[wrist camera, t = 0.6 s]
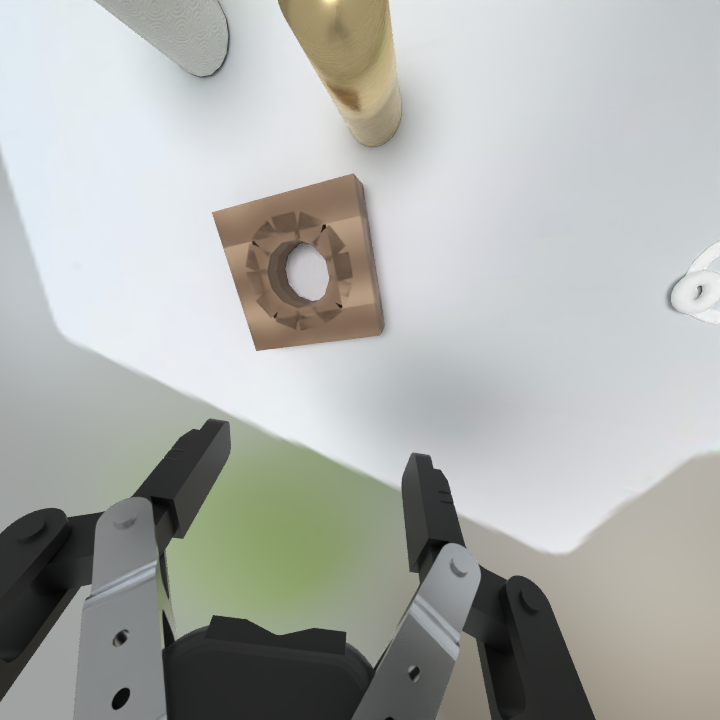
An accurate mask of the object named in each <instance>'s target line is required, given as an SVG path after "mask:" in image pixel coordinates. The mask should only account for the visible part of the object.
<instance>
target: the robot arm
mask: <svg viewBox="0 0 720 720" xmlns="http://www.w3.org/2000/svg"><path fill="white" fill-rule="evenodd" d="M230 449H231V441H230V425H229V422H227V421H222V420H216V419H208V420H207V421H206V423H205V424H204V425H203V427H202V428H201V429H200V430H196V429H192V430H191V431H189V432H188V433H186V434H185V435H183V436H182V437H180V438H179V440H178V441H177V442H176V443H175V445H174V446H173V447H172V449H171V450H170V451H169V452H168V453H167V454H166V455H165V457H164V459H162V461H161V462H160V463H159V464H158V466H157V467H156V468H155V469H154V470H153V471H152V473H151V474H150V475H149V476H148V478H147V479H146V480H145V481H144V482H143V484H142V485H141V486H140V487H139V489H138V490H137V491H136V492H135V493H134V494H133V496H131V497H130V498H127V499H124V500H122V501H119V502H117V503H116V504H114V505H112V506H111V507H110V508H108V509H107V510H106V511H104V512H100V513H94V514H87V515H80V516H74V517H67V516H66V514H65V513H64V512H63V511H62V510H60V509H57V508H47V509H42V510H38V511H34V512H32V513H29V514H27V515H25V516H23V517H22V518H20V519H18V520H16V521H15V522H14V523H12V524H11V525H10V526H8V527H7V528H6V529H5V530H4V531H3V532H2V533H1V534H0V701H1V700H2V699H3V697H4V696H5V694H6V693H7V691H8V690H9V689H10V687H11V686H12V684H13V683H14V681H15V680H16V679H17V677H18V676H19V674H20V673H21V671H22V670H23V668H24V667H25V666H26V664H27V663H28V661H29V660H30V659H31V657H32V656H33V654H34V653H35V651H36V650H37V649H38V647H39V646H40V644H41V643H42V641H43V640H44V639H45V637H46V636H47V634H48V633H49V631H50V630H51V629H52V627H53V626H54V624H55V623H56V621H57V620H58V619H59V617H60V616H61V614H62V613H63V611H64V610H65V609H66V607H67V606H68V604H69V603H70V601H71V600H72V599H73V597H74V596H75V594H76V593H77V591H78V590H79V589H80V587H81V586H85V585H89V584H92V589H91V595H90V597H88V598H86V600H85V602H84V605H83V610H82V620H81V632H80V645H79V656H78V669H77V680H76V692H75V704H74V717H73V720H435V719H436V716H437V713H438V710H439V707H440V705H441V701H442V699H443V696H444V693H445V690H446V688H447V685H448V682H449V679H450V676H451V674H452V671H453V668H454V665H455V662H456V659H457V656H458V652H459V644H458V641H459V638H460V635H461V632H462V631H464V632H466V633H467V634H469V635H471V636H473V637H474V638H476V641H477V646H478V651H479V657H480V662H481V667H482V672H483V677H484V682H485V688H486V693H487V697H488V703H489V709H490V714H491V719H492V720H596V719H595V717H594V714H593V712H592V709H591V707H590V704H589V702H588V699H587V697H586V694H585V692H584V689H583V687H582V684H581V681H580V679H579V676H578V674H577V671H576V669H575V666H574V664H573V661H572V659H571V656H570V654H569V651H568V649H567V646H566V643H565V641H564V638H563V636H562V634H561V631H560V628H559V626H558V623H557V621H556V618H555V616H554V613H553V611H552V608H551V605H550V603H549V601H548V599H547V598H546V596H545V595H544V593H543V592H542V591H541V589H540V588H539V587H538V586H537V585H536V584H535V583H533V582H532V581H531V580H529V579H527V578H525V577H523V576H513V577H511V578H510V579H509V580H506V579H504V578H502V577H500V576H498V575H496V574H494V573H492V572H490V571H488V570H486V569H485V568H483V567H482V566H480V565H479V564H478V563H477V561H476V559H475V557H474V556H473V555H472V554H471V553H470V551H468V550H467V548H466V546H465V543H464V540H463V536H462V533H461V529H460V525H459V521H458V517H457V514H456V510H455V506H454V505H453V503H454V502H453V499H452V495H451V491H450V487H449V484H448V480H447V479H446V477H445V476H444V474H443V473H442V471H441V470H439V469H433V465H432V460H431V457H430V456H429V455H425V454H419V453H412V454H411V456H410V458H409V461H408V463H407V466H406V468H405V471H404V473H403V477H402V498H403V508H404V519H405V528H406V539H407V549H408V559H409V568H410V572H415V573H419V579H420V584H419V586H418V588H417V590H416V591H415V593H414V595H413V597H412V599H411V601H410V602H409V604H408V606H407V608H406V610H405V612H404V614H403V615H402V617H401V619H400V621H399V623H398V625H397V626H396V628H395V630H394V632H393V633H392V635H391V637H390V639H389V640H388V642H387V644H386V646H385V647H384V649H383V651H382V653H381V655H380V656H379V658H378V660H377V662H376V664H375V665H374V668H373V667H372V666H371V664H370V663H369V662H368V660H367V659H366V658H365V657H364V656H363V655H362V654H361V653H360V652H359V651H358V650H357V649H356V648H355V647H353V646H352V645H350V644H349V643H346V632H342V631H333V630H326V629H318V628H312V629H307V630H303V631H298V632H294V633H289V634H285V635H275V634H273V633H271V632H269V631H267V630H265V629H264V628H262V627H260V626H258V625H256V624H254V623H252V622H250V621H248V620H247V619H239V618H231V617H223V616H215V615H213V617H212V619H211V622H210V625H209V626H205V627H202V628H199V629H196V630H194V631H192V632H190V633H188V634H186V635H184V636H182V637H181V638H179V639H178V640H177V632H176V625H175V619H174V614H173V609H172V602H171V594H170V585H169V576H168V567H167V558H166V550H165V549H166V547H167V546H168V544H169V542H170V540H171V539H172V537H173V538H181V539H183V538H184V536H185V534H186V532H187V531H188V529H189V527H190V525H191V524H192V522H193V520H194V518H195V517H196V515H197V513H198V511H199V509H200V508H201V506H202V504H203V502H204V501H205V499H206V497H207V495H208V493H209V491H210V490H211V488H212V486H213V485H214V483H215V481H216V479H217V477H218V476H219V474H220V472H221V470H222V469H223V466H224V465H225V463H226V461H227V459H228V457H229V454H230Z"/></svg>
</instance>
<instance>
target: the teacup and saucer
mask: <svg viewBox="0 0 720 720" xmlns="http://www.w3.org/2000/svg"><path fill="white" fill-rule="evenodd" d="M719 255H720V240H719V241H717V242H716V243H714V244H713V245H711V246H710V247H709V248H707V249H706V250H705V251H704V252H703V253H702V254H701V255H700V256H699V257H698V258H697V259H696V260H695V261H694V262H693V264H692V265H691V266H690V268H689V270H688V271H687V273H686V275H685V277H684V278H683V279H681V280H680V281H679V282H678V283H677V284H676V286H675V287H674V289H673V291H672V294H671V302H672V305H673V306H674V308H675V309H676V310H678V311H679V312H682V313H685V314H691V315H692V316H693V317H695V318H696V319H698V320H701V321H703V322H707V323H712V324H720V311H719V310H714V309H711V307H712V306H714V305H715V304H716V303H717V302H718V301H719V299H720V275H719V274H718V273H716V272H713V271H708V270H705V268H706V267H707V266H708V265H709V264H710V263H711V262H712V261H713V260H714V259H715V258H716V257H718V256H719ZM699 285H700V286H702V293H701V295H700V296H699V297H698V293H697V287H698V286H699Z"/></svg>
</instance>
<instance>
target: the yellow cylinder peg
mask: <svg viewBox="0 0 720 720" xmlns="http://www.w3.org/2000/svg"><path fill="white" fill-rule="evenodd" d="M278 3H279V5H280V8H281V11H282V13H283V15H284V17H285V19H286V21H287V22H288V24H289V26H290V28H291V29H292V31H293V33H294V35H295V36H296V38H297V40H298V41H299V43H300V45H301V47H302V48H303V50H304V52H305V54H306V55H307V57H308V59H309V60H310V62H311V64H312V66H313V67H314V69H315V71H316V73H317V74H318V76H319V78H320V79H321V81H322V83H323V85H324V86H325V88H326V90H327V92H328V93H329V95H330V97H331V98H332V100H333V102H334V104H335V105H336V107H337V109H338V111H339V112H340V114H341V116H342V117H343V119H344V121H345V123H346V124H347V126H348V128H349V130H350V131H351V133H352V135H353V136H354V138H355V139H356V140H357V141H358V142H359V143H361V144H363V145H365V146H368V147H376V146H380V145H382V144H384V143H386V142H387V141H388V140H389V139H390V138H391V137H392V136H393V135H394V133H395V132H396V130H397V128H398V126H399V123H400V119H401V110H402V109H401V99H400V91H399V83H398V74H397V66H396V58H395V50H394V42H393V34H392V26H391V18H390V10H389V2H388V0H278Z"/></svg>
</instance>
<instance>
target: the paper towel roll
mask: <svg viewBox="0 0 720 720" xmlns="http://www.w3.org/2000/svg"><path fill="white" fill-rule="evenodd" d="M94 1H96V2H97V3H98V4H100V5H101V6H102V7H103V8H105V9H106V10H107V11H109V12H110V13H111V14H113V15H114V16H115V17H116V18H118V19H119V20H120V21H122V22H123V23H124V24H126V25H127V26H128V27H129V28H131V29H132V30H133V31H135V32H136V33H137V34H139V35H140V36H141V37H142V38H144V39H145V40H146V41H148V42H149V43H150V44H152V45H153V46H154V47H156V48H157V49H158V50H159V51H161V52H162V53H163V54H165V55H166V56H167V57H169V58H170V59H171V60H172V61H174V62H175V63H176V64H178V65H179V66H180V67H182V68H183V69H184V70H185V71H187V72H189V73H192V74H194V75H197V76H200V77H201V76H207V75H211V74H213V73H214V72H215V71H216V70H217V69H218V68H219V67H220V66H221V64H222V62H223V60H224V57H225V55H226V53H227V44H228V30H227V23H226V18H225V15H224V13H223V11H222V9H221V7H220V5H219V3H218V1H217V0H94Z"/></svg>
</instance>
